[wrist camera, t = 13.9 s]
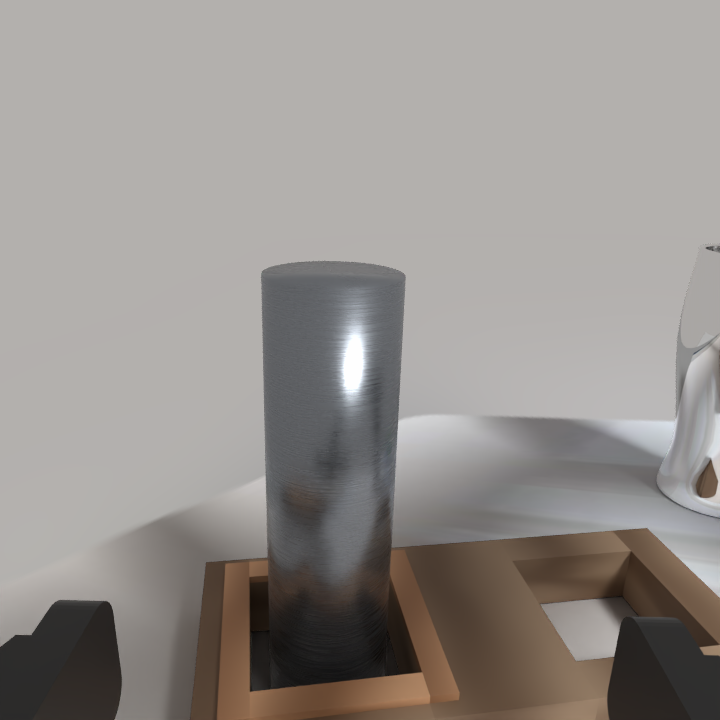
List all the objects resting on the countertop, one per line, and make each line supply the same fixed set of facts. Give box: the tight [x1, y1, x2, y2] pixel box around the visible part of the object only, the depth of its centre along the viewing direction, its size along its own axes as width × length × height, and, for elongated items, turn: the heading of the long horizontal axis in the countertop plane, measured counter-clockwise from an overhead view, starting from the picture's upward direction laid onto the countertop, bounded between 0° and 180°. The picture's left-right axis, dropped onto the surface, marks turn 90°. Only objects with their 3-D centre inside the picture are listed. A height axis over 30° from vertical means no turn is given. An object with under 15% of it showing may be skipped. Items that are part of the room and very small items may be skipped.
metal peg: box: [261, 261, 405, 689], centre depth 22 cm, size 4×4×16 cm
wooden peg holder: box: [190, 528, 720, 720], centre depth 25 cm, size 21×9×3 cm, turn 100°
